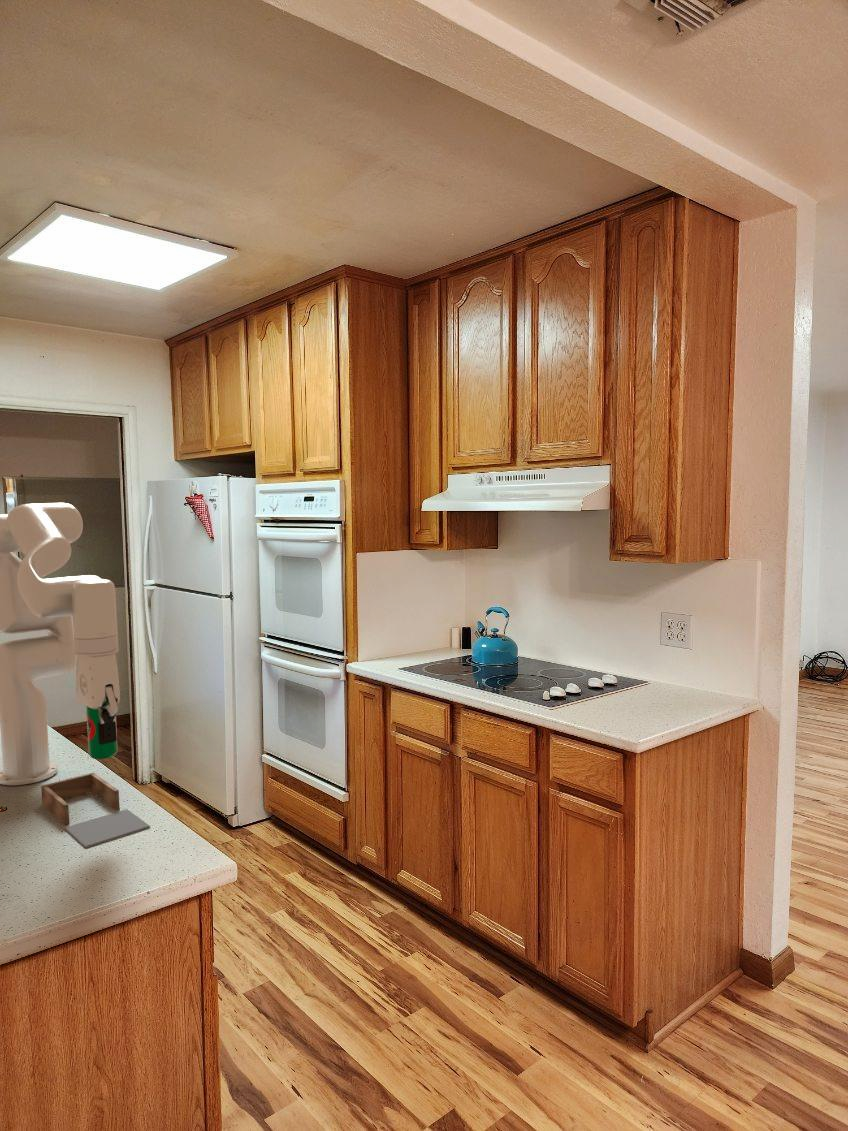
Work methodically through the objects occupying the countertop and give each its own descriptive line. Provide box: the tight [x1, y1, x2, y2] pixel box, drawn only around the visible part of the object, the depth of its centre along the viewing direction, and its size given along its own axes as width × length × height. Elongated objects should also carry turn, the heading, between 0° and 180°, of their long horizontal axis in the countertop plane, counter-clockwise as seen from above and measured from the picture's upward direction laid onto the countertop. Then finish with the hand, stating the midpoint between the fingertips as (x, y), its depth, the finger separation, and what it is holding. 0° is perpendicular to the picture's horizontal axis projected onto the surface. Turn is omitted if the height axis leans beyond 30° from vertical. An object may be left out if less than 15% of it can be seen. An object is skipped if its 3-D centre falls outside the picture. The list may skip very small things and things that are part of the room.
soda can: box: [85, 703, 119, 760], centre depth 144 cm, size 5×5×12 cm
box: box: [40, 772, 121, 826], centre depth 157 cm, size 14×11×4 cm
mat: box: [64, 808, 151, 849], centre depth 146 cm, size 11×12×1 cm
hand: (102, 738), depth 145 cm, fingers closed on soda can, 4 cm apart
